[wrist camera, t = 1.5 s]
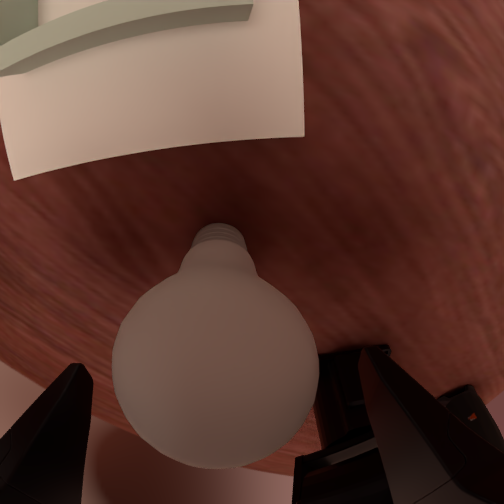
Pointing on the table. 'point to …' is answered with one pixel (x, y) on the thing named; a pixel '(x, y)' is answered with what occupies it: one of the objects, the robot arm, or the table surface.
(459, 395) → the portable speaker
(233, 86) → the tray
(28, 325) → the table surface
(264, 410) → the lightbulb
